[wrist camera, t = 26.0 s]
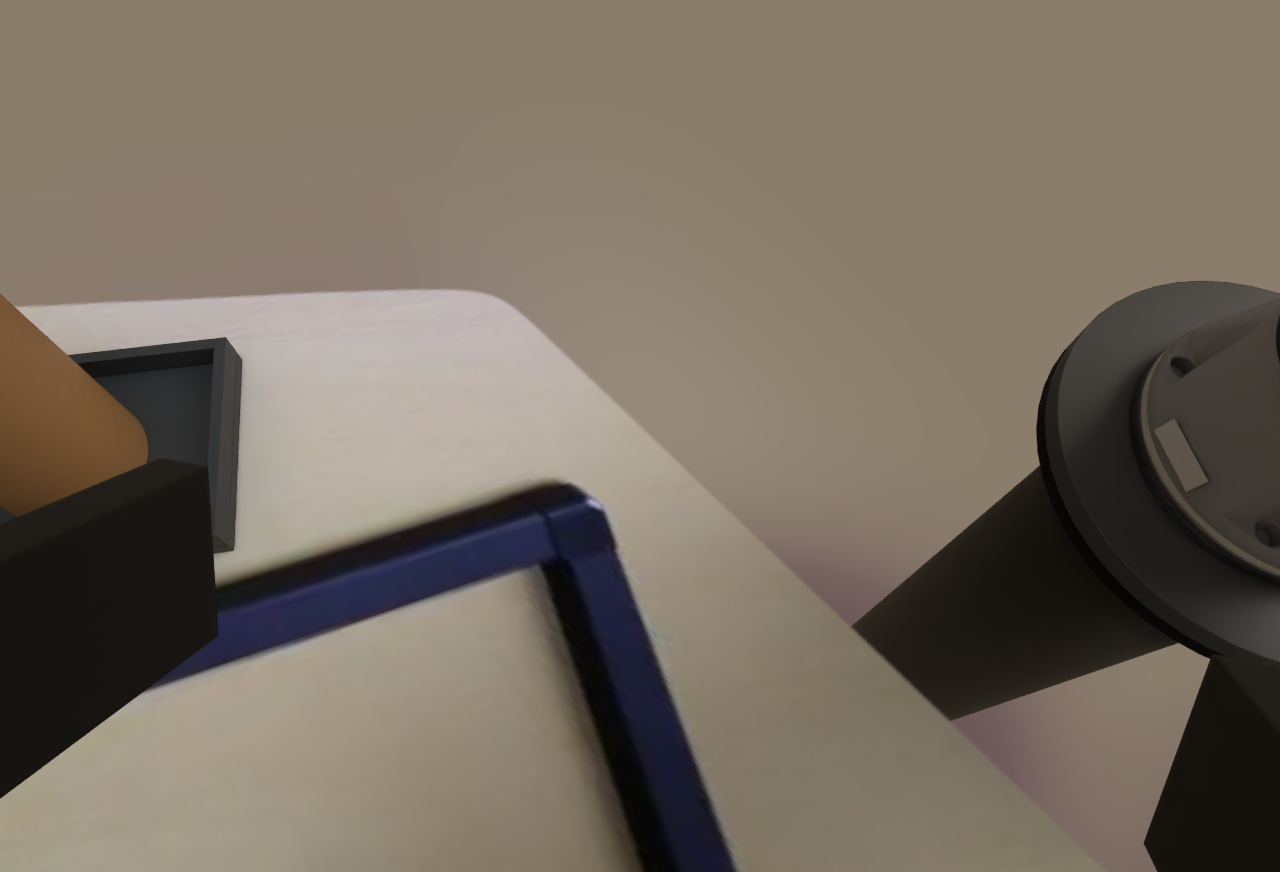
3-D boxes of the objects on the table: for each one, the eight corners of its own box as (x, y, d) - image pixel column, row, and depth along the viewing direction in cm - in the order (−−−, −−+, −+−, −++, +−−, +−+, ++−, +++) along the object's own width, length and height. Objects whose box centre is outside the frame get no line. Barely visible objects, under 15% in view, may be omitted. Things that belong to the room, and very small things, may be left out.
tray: (242, 359, 46) (225, 336, 44) (234, 550, 42) (215, 535, 40) (-53, 393, 45) (-84, 371, 43) (-96, 597, 40) (-135, 583, 38)
